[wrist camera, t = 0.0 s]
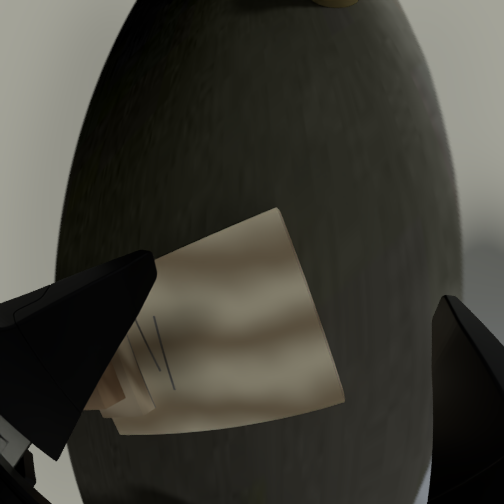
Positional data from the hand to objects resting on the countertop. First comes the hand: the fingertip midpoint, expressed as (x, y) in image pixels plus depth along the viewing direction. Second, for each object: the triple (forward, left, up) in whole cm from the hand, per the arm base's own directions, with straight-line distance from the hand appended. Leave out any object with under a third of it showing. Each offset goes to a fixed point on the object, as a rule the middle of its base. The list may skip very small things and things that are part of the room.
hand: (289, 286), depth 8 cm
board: (-2, +13, -15) cm, 20 cm away
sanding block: (-2, +21, -13) cm, 25 cm away
